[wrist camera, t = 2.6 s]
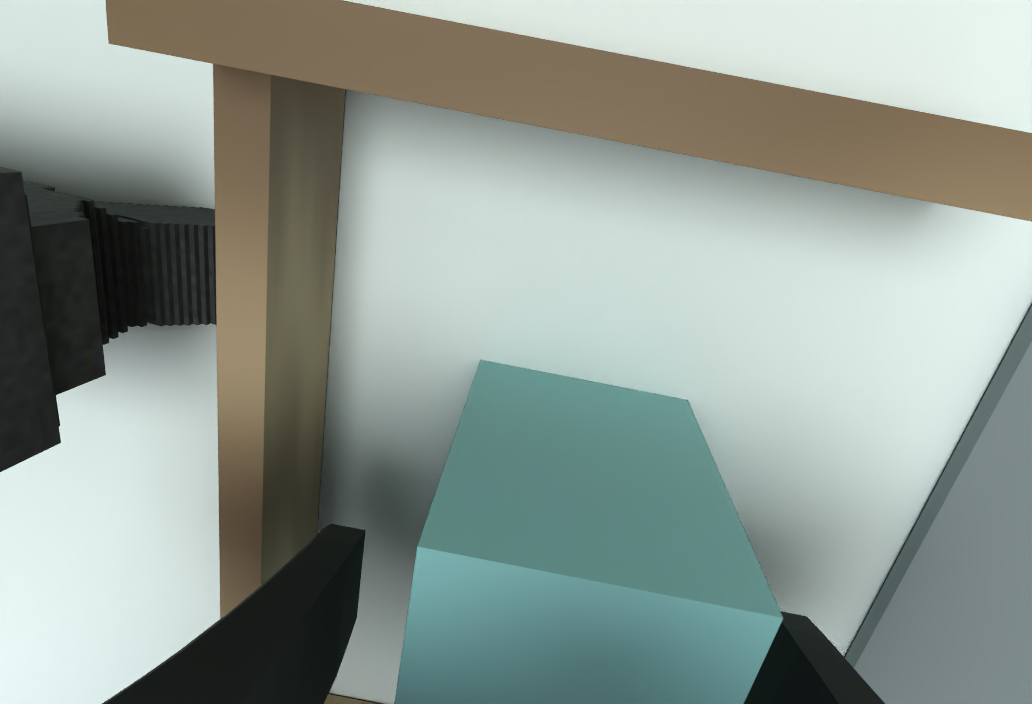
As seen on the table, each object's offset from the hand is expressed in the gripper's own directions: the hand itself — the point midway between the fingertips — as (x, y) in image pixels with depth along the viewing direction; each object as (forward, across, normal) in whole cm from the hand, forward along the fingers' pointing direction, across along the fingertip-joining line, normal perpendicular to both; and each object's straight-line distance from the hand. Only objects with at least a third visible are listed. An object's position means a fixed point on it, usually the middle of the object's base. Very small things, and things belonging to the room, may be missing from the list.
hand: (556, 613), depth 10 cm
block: (+4, 0, 0) cm, 4 cm away
